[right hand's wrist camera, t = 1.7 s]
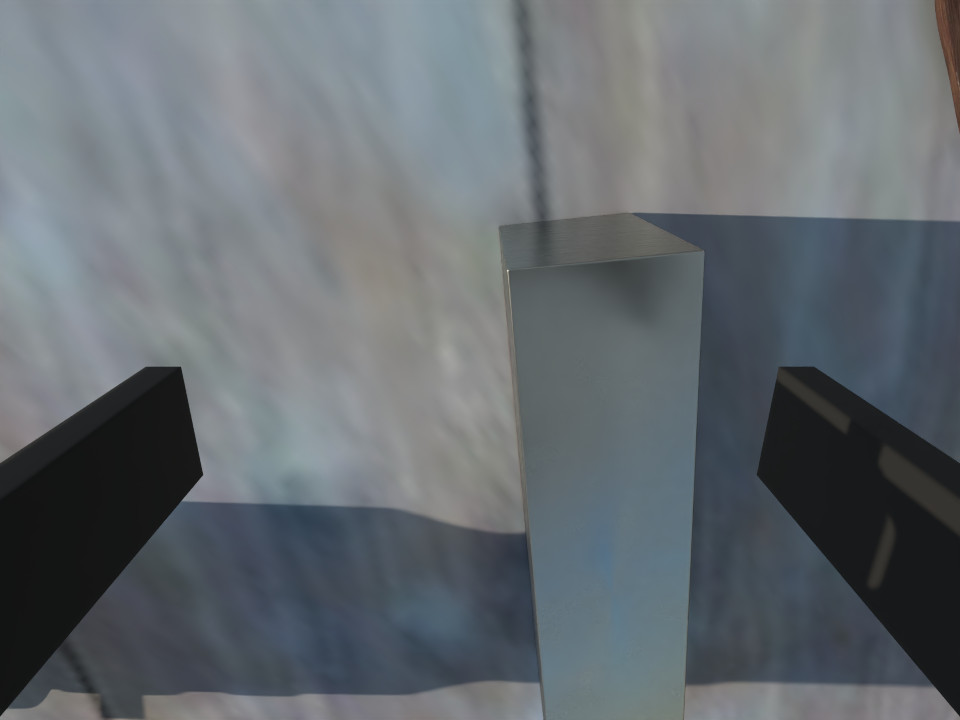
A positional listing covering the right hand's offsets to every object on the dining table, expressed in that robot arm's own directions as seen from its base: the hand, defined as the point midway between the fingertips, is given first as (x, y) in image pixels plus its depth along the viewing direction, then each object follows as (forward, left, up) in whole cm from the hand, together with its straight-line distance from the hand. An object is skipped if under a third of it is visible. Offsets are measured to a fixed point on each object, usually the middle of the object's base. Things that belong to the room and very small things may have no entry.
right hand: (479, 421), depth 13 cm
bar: (+2, +11, -15) cm, 19 cm away
